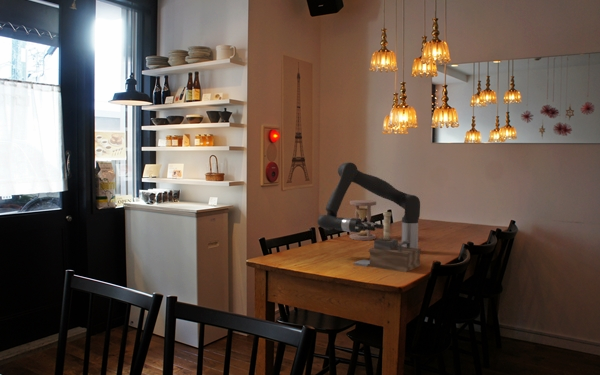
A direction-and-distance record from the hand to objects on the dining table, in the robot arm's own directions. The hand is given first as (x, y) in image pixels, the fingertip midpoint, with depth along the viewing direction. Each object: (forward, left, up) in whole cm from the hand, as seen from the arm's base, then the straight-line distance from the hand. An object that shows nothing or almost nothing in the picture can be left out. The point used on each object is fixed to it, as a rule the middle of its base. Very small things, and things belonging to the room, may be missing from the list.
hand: (379, 227), depth 267 cm
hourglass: (-65, -46, -19) cm, 82 cm away
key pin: (0, +4, -10) cm, 11 cm away
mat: (+4, -6, -19) cm, 20 cm away
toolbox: (0, +9, -19) cm, 21 cm away
